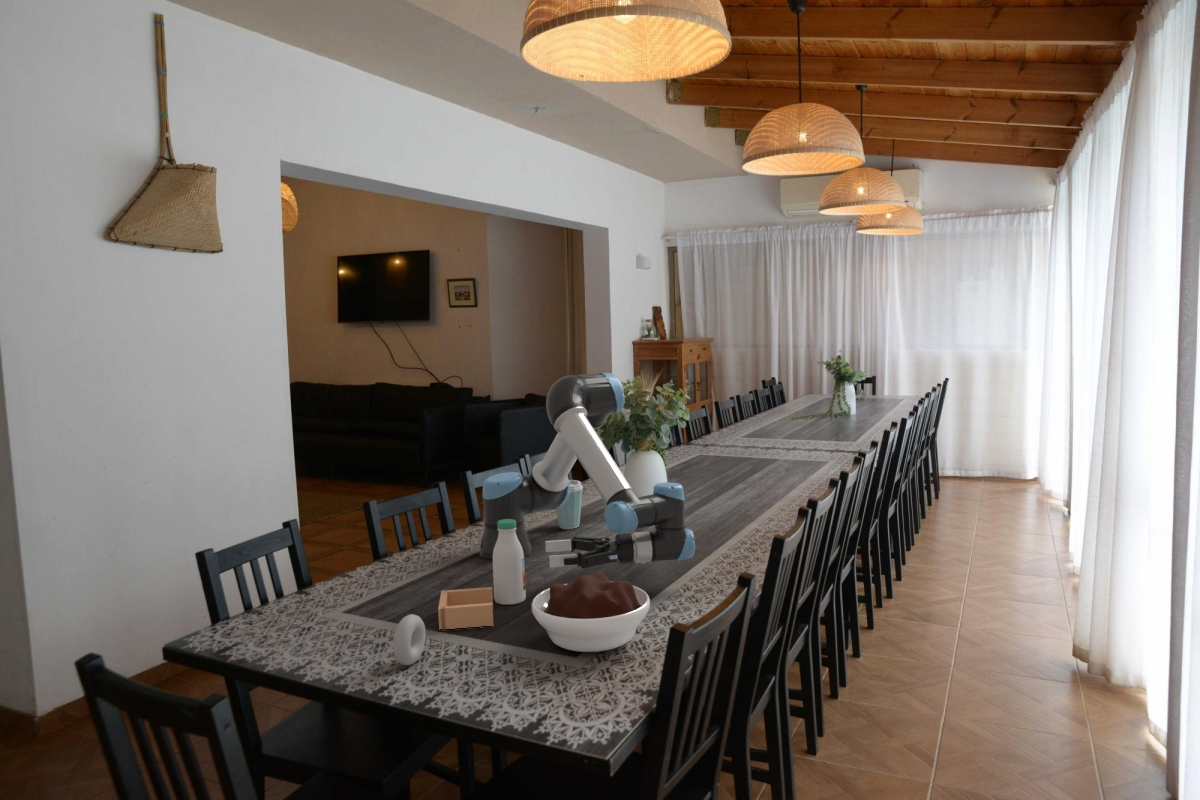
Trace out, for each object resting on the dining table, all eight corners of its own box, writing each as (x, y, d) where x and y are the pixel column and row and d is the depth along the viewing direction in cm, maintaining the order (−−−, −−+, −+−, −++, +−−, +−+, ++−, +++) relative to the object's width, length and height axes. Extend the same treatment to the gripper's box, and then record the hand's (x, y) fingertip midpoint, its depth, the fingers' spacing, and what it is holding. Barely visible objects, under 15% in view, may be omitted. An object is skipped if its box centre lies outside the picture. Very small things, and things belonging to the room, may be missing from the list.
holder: (493, 607, 202) (492, 586, 201) (493, 626, 189) (492, 604, 189) (442, 611, 200) (441, 590, 200) (439, 630, 187) (438, 609, 187)
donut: (407, 674, 165) (404, 625, 164) (391, 673, 165) (388, 624, 165) (429, 654, 174) (427, 607, 173) (414, 653, 175) (412, 606, 174)
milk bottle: (520, 606, 202) (517, 524, 200) (490, 605, 203) (486, 524, 202) (529, 595, 209) (526, 517, 207) (500, 594, 211) (496, 516, 209)
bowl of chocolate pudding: (543, 621, 191) (541, 556, 190) (653, 621, 189) (651, 556, 187) (522, 666, 167) (519, 592, 165) (648, 667, 164) (646, 592, 163)
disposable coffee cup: (573, 532, 270) (572, 486, 269) (546, 529, 276) (544, 484, 274) (590, 525, 279) (588, 480, 278) (563, 522, 285) (561, 478, 283)
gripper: (642, 577, 197) (552, 584, 195) (624, 549, 222) (544, 555, 219) (641, 546, 197) (550, 552, 194) (623, 521, 221) (543, 526, 218)
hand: (547, 553), depth 207 cm, fingers open, 13 cm apart
